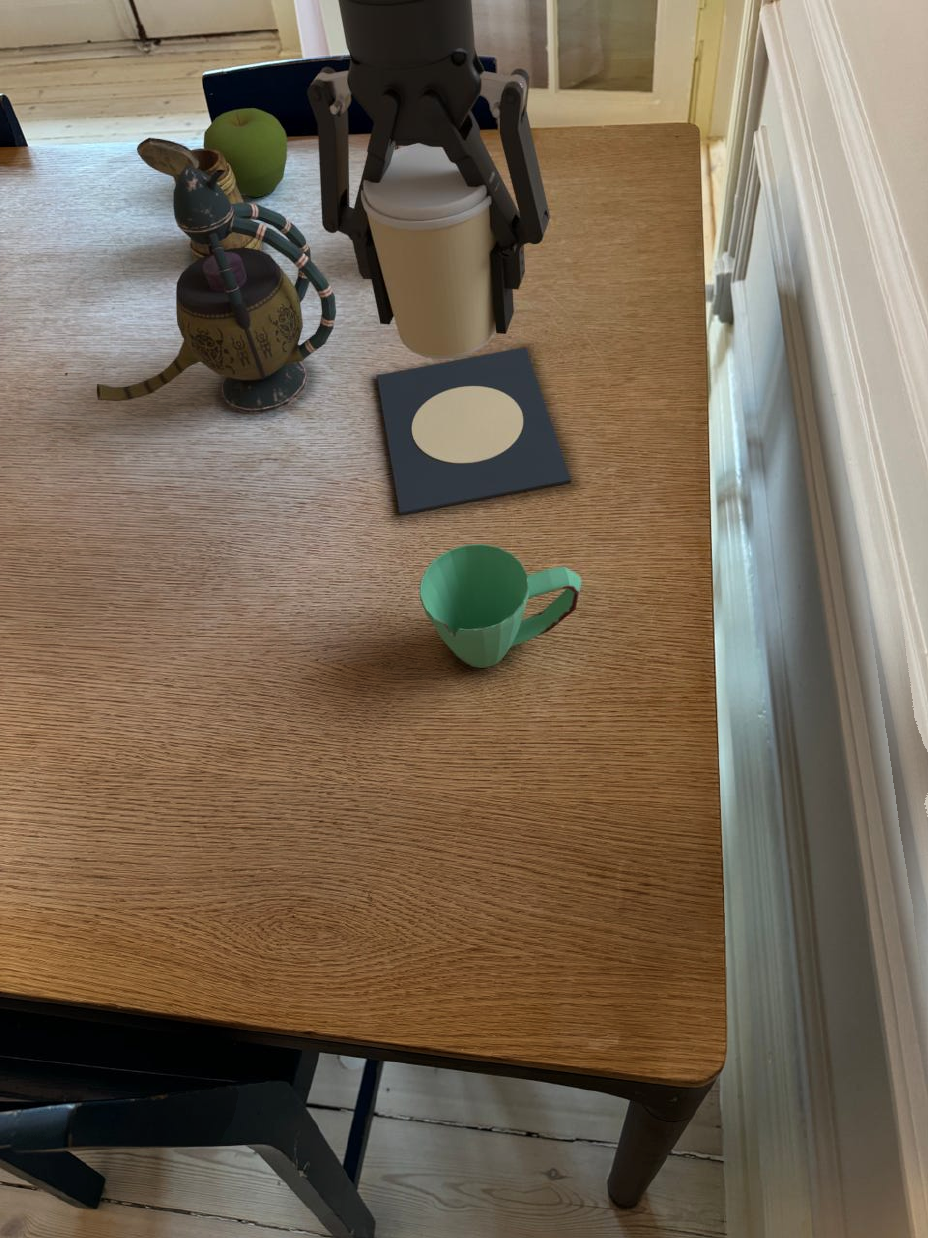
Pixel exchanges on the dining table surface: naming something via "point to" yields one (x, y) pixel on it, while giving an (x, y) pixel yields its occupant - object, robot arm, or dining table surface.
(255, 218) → the teapot
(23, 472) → the dining table surface
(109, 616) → the dining table surface
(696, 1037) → the dining table surface
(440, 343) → the coffee cup
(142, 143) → the wooden mug
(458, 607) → the mug
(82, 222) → the dining table surface
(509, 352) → the place mat
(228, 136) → the apple
